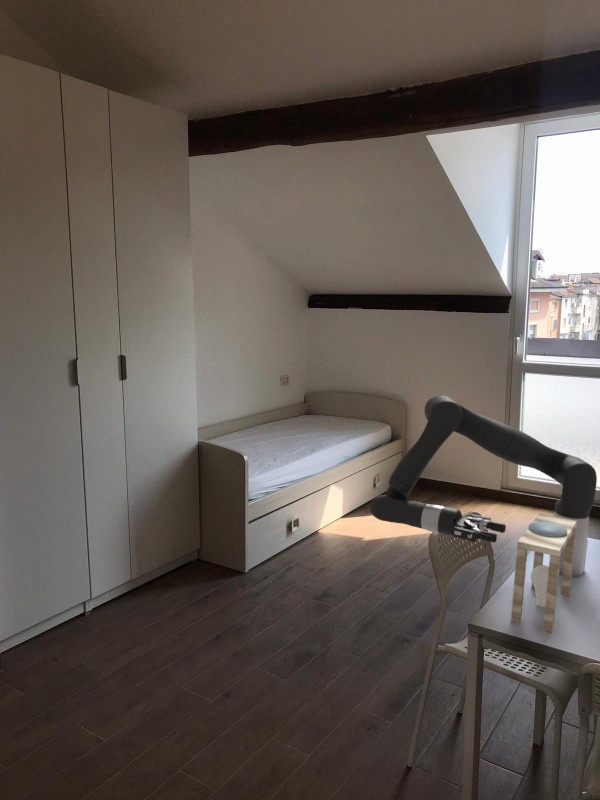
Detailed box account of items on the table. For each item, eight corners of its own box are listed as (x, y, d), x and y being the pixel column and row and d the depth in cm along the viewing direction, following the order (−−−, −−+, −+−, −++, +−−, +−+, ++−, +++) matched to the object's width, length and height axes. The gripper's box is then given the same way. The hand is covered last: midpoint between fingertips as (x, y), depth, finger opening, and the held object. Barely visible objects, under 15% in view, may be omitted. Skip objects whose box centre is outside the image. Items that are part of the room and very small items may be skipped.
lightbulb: (524, 606, 166) (527, 566, 164) (533, 598, 170) (537, 559, 168) (547, 615, 162) (551, 573, 160) (557, 606, 166) (561, 566, 164)
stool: (533, 584, 178) (539, 511, 175) (569, 593, 173) (577, 518, 170) (510, 621, 158) (517, 539, 155) (551, 632, 153) (559, 548, 150)
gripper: (433, 513, 170) (494, 527, 162) (450, 500, 182) (509, 512, 174) (430, 540, 172) (492, 556, 163) (448, 525, 184) (506, 539, 175)
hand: (500, 533), depth 169 cm, fingers open, 8 cm apart
